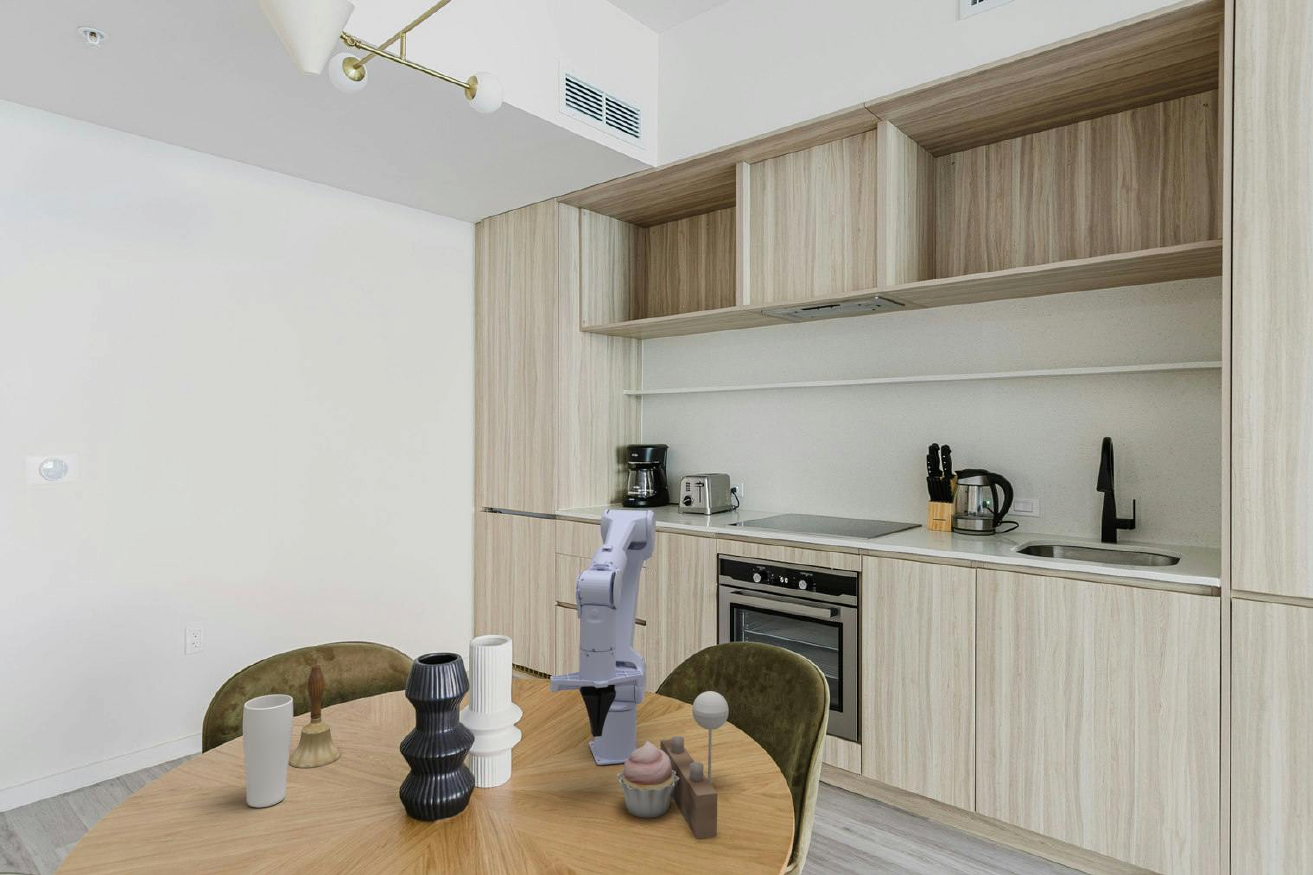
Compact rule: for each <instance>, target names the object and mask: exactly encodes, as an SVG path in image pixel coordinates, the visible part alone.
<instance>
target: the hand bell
mask: <svg viewBox="0 0 1313 875" xmlns="http://www.w3.org/2000/svg"><path fill="white" fill-rule="evenodd" d="M324 677H325V676H324V674H323V672H322V669H321V665H320V664H314V665H312V666H311V671H310V674H309V676H308V680H307V692H308V696H309V700H310V722H309V723H308V724H307V725H306V724H305V726H303V727H302V729H301V732H300V733H301V734H300V739H299V742H298V745H297V747H296V749H295V751H294V752H292V754H291V755H289V764H288V765H290V766H291V767H294V768H297V769H313V768H319V767H324V766H327V765H330V764H332V763H335V761H337V760H339V758H340V757H341V755H342V751H341V749H340V748H339V747H337V746H336V744H335V743H334V741H333V738H332V735H331V733H332V732H331V727H330V726H331V725H330V724H329V723H327V722H324V721H322V720H323V719H322V706H321V705H322V697H323V695H324V690H325V689H324V688H325V678H324Z"/></svg>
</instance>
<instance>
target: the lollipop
mask: <svg viewBox="0 0 1313 875" xmlns="http://www.w3.org/2000/svg"><path fill="white" fill-rule="evenodd" d="M691 709H692V710H691V712H692V716H693V719H694V721H695V722H696V724H697V725H698V726H699V727H700V728H702V729H704V730H708V757H707V758H708V760H707V761H708V765H707V766H708V767H707V772H708V773H707V774H708V775H707V780H708V781H709V782H710V784H711V785H712V736H713V734H712V733H713V732H712V731H714V730H717V729H720V728H721V727H723V725H724V724H726V722H727V720H728V717H729V712H730V710H729V709H730V708H729V705H728V702H727V700H726V699H725V697H724V696H723V695H722V694H720V693H719V692H716V691H714V690H713V691H712V690H708V691H704V692H701V693H700V694H699V695H698V696H697V697H695V699H694V701H693V705H692V708H691Z"/></svg>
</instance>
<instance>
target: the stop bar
mask: <svg viewBox="0 0 1313 875" xmlns="http://www.w3.org/2000/svg"><path fill="white" fill-rule="evenodd" d="M659 747H660V748H659V749H660V750H662V751H664V752H665V753H666V754H667V755H668V756H669V759H670V762H671V767H672V770H674V771H675V772H676V776H677V777H679V778H680V779H679V780H678V782H677V784H676V786H675V788H674V790H673V793H672V796H671V799H673V801H674V803H675V804H676V806H677V808H678V810H679V812H680V814H681V815H682V817H683V818H684V820H685V822H686V823H687V825H688V827H689V829H690V830H691V832H692V834H693V836H694V837H695V839H696V840H698V839H699V840H700V839H705V838H706V839H707V838H714V837H718V832H717V831H718V792H717V791H716V790H715V788H714V787H713V785H712V783H711V784H710V782H709V781H708V777H706V775H705V774H704V763H702V762H700V761H695V760H694V759H693V757H692V756H691V754H690V753H689V751H688V750H687V749H686V747H685V738H684V737H683V736H680V735H677V736H672V737H671V738H670V739H669V738H668V739H660V746H659Z"/></svg>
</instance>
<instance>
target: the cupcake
mask: <svg viewBox="0 0 1313 875" xmlns="http://www.w3.org/2000/svg"><path fill="white" fill-rule="evenodd" d="M616 776H617V778H618V782H619V785H620V786H621V789H622V791H623V796H624V797H623V798H624V802H625V807H626V809H627V810H628V812H629V813H630V814H631V815H633V816H634V817H638V818H643V819H645V818H646V819H652V818H658V817H661V816H663V815H664V814H666V813H667V812H668V810H669V808H670V804H671V800H672V793H673V790H674V788H675V786H676V784H677V782H678V780H679V779H680V778H679V777H677V776H676V772H675V771H674V770H672V767H671V762H670V759H669V756H668V755H667V754H666V753H665V752H664V751H662V750H660V748H658V747H656V745H654V744H653V743H651V742H650V741H648V740H646V742H645V743H644V744H643V745H642V746H641V747H639V748H637V750H635V751H633V752H632V753H631V755H630V758H629V759H628V760H627V761H626V762H625V763H623V768H622V772H620V773H617V774H616Z"/></svg>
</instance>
